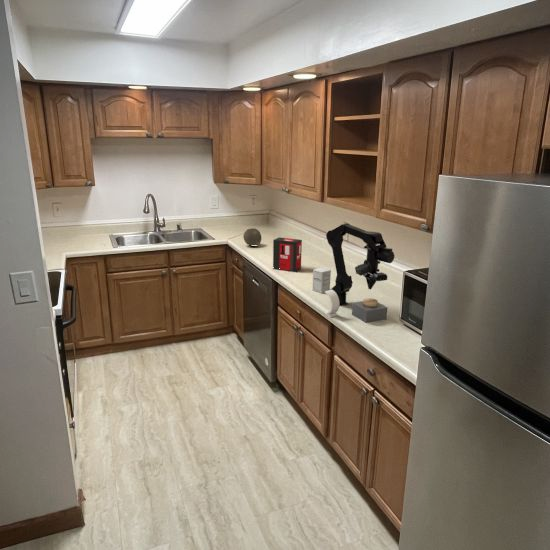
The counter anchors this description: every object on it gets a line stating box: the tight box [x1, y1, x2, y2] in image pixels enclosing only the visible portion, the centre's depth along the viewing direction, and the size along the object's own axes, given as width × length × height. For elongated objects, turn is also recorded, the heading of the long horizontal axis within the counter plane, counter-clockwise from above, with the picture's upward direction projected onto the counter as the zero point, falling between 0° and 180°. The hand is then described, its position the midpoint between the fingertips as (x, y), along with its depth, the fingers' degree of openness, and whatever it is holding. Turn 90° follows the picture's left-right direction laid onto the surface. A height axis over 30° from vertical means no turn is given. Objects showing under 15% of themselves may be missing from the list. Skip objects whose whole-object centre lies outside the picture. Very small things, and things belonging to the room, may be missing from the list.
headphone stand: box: [323, 289, 340, 318], centre depth 219 cm, size 5×6×12 cm
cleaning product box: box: [272, 236, 303, 273], centre depth 296 cm, size 16×9×20 cm, turn 65°
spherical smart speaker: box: [242, 227, 262, 246], centre depth 358 cm, size 14×14×15 cm
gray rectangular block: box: [351, 300, 388, 324], centre depth 219 cm, size 12×14×6 cm
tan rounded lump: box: [362, 297, 379, 307], centre depth 217 cm, size 7×7×6 cm
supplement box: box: [312, 267, 332, 294], centre depth 255 cm, size 7×7×13 cm
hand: (369, 289), depth 220 cm, fingers closed
